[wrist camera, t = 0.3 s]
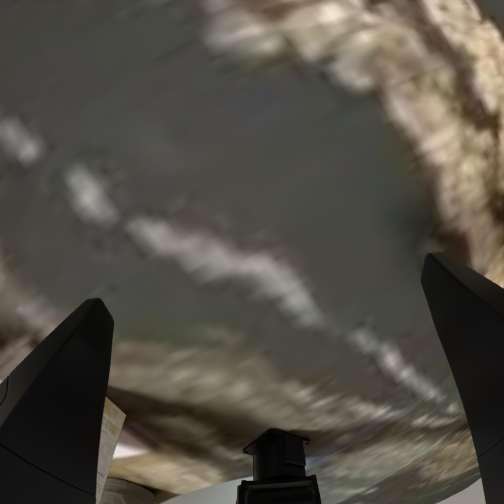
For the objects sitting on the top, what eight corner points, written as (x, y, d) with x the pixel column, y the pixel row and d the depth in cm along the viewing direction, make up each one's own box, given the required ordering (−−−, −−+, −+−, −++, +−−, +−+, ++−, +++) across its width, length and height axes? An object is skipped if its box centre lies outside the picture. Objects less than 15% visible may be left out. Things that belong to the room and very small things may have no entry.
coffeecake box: (62, 426, 35) (22, 526, 17) (30, 394, 33) (-23, 496, 15) (129, 416, 33) (91, 553, 15) (91, 378, 30) (30, 522, 12)
